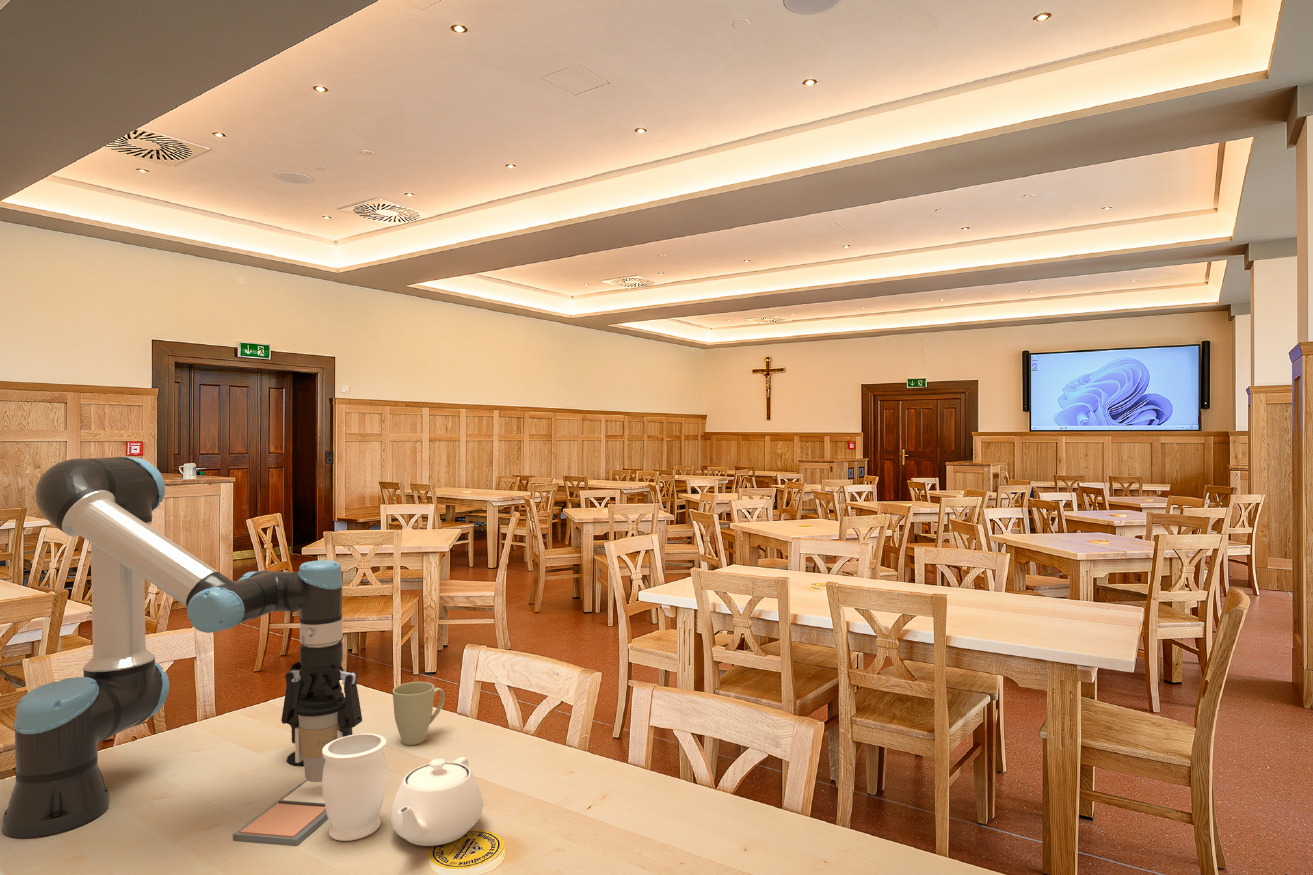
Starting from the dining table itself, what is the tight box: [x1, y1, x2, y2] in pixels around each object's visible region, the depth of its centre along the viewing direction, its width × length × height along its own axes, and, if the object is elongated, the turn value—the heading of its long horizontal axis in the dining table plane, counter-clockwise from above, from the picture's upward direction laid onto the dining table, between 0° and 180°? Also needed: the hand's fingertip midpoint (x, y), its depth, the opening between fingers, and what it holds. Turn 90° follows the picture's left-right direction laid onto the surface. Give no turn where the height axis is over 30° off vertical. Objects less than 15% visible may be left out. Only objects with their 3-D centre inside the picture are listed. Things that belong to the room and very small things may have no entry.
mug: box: [392, 681, 446, 746], centre depth 171 cm, size 11×10×12 cm
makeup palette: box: [232, 779, 329, 847], centre depth 138 cm, size 12×22×2 cm, turn 172°
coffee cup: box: [294, 690, 347, 782], centre depth 144 cm, size 9×9×15 cm
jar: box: [322, 733, 388, 842], centre depth 132 cm, size 11×10×15 cm
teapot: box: [390, 756, 484, 847], centre depth 131 cm, size 25×16×12 cm, turn 170°
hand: (322, 760), depth 144 cm, fingers closed on coffee cup, 8 cm apart
